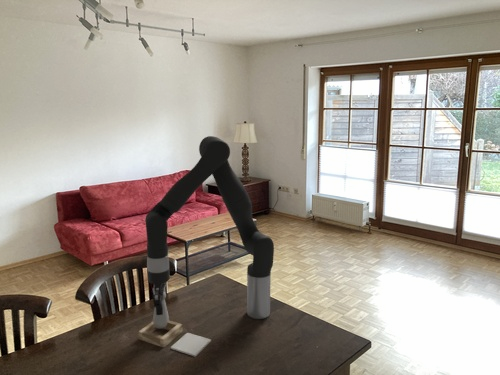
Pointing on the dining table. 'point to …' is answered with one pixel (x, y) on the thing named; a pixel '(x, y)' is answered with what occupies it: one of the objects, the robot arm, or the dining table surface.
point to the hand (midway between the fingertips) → (160, 312)
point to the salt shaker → (161, 316)
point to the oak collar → (155, 339)
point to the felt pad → (191, 344)
